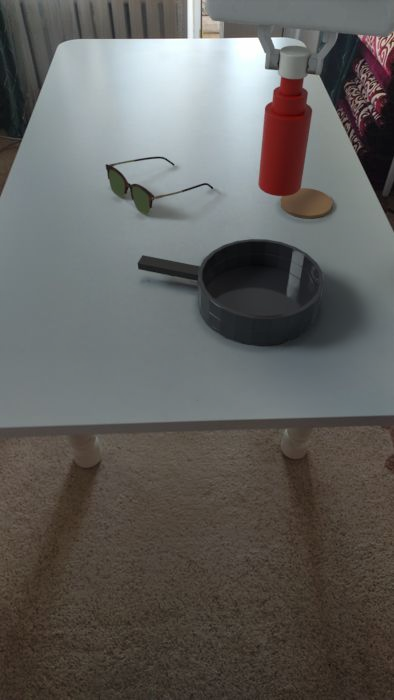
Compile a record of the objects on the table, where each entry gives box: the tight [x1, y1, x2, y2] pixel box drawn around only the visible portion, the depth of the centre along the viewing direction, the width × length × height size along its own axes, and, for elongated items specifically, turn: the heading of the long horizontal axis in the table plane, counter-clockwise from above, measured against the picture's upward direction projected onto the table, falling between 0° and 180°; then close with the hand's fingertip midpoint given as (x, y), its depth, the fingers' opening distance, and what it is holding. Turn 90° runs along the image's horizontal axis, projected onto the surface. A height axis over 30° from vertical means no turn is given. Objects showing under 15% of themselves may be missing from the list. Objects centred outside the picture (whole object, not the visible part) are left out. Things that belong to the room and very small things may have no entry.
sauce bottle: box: [257, 45, 313, 197], centre depth 66 cm, size 6×6×16 cm
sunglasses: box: [105, 156, 214, 216], centre depth 99 cm, size 14×15×5 cm
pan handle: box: [137, 254, 201, 282], centre depth 80 cm, size 9×2×1 cm, turn 72°
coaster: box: [279, 187, 333, 219], centre depth 97 cm, size 9×9×1 cm
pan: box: [197, 238, 325, 346], centre depth 77 cm, size 17×17×5 cm
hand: (293, 70), depth 62 cm, fingers closed on sauce bottle, 3 cm apart
